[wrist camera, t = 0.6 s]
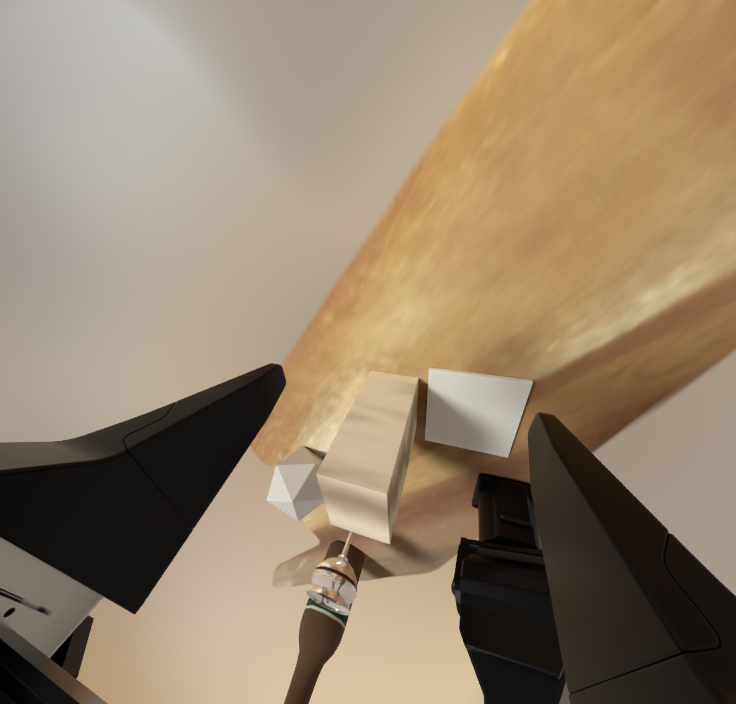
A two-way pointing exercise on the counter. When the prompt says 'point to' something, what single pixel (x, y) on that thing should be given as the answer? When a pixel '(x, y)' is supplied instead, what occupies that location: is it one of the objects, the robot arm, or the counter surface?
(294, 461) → the die
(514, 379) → the mat
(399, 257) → the counter surface
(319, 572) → the wineglass
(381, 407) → the birch block
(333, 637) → the beer bottle
